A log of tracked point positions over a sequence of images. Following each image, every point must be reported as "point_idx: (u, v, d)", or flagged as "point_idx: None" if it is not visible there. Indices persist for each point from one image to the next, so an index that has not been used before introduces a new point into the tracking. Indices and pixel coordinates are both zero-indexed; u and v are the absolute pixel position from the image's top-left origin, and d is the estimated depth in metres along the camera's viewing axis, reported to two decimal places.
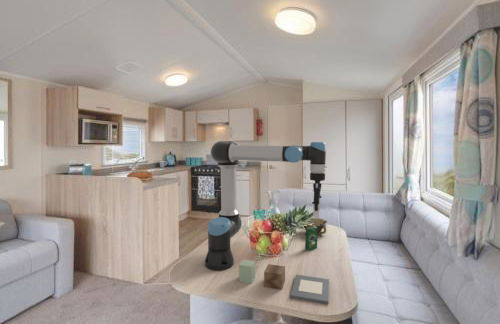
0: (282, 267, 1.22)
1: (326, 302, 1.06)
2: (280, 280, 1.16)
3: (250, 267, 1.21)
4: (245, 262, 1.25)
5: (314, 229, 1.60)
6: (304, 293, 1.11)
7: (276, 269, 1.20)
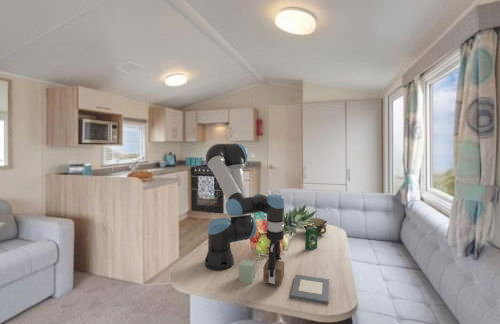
0: (281, 262, 1.22)
1: (326, 302, 1.06)
2: (279, 275, 1.16)
3: (250, 267, 1.21)
4: (245, 262, 1.25)
5: (314, 229, 1.60)
6: (304, 293, 1.11)
7: (275, 264, 1.20)
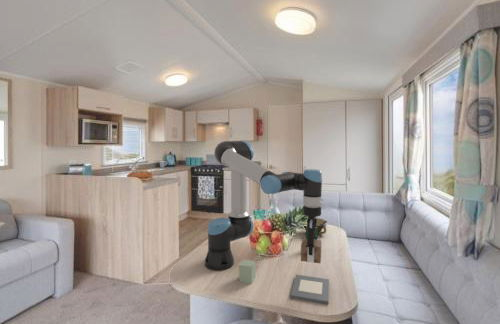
0: (319, 241, 1.16)
1: (326, 302, 1.06)
2: (318, 253, 1.10)
3: (250, 267, 1.21)
4: (245, 262, 1.25)
5: None
6: (304, 293, 1.11)
7: None
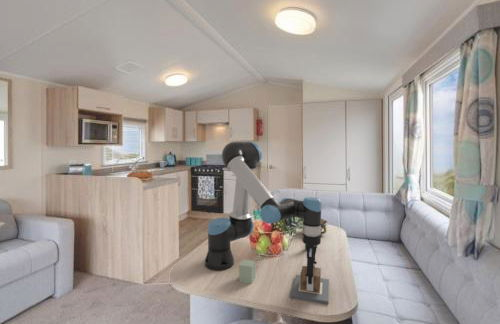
0: (318, 269, 1.17)
1: (326, 302, 1.06)
2: (318, 282, 1.11)
3: (250, 267, 1.21)
4: (245, 262, 1.25)
5: None
6: (304, 293, 1.11)
7: None
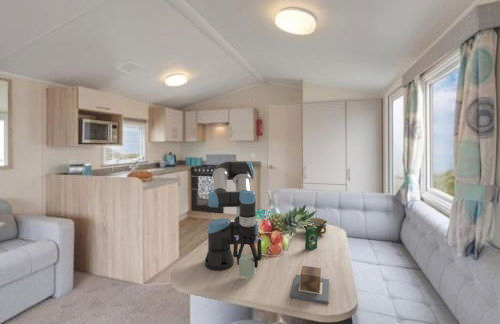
0: (318, 269, 1.17)
1: (326, 302, 1.06)
2: (318, 282, 1.11)
3: (250, 261, 1.21)
4: (245, 256, 1.25)
5: (314, 229, 1.60)
6: (304, 293, 1.11)
7: (312, 271, 1.15)
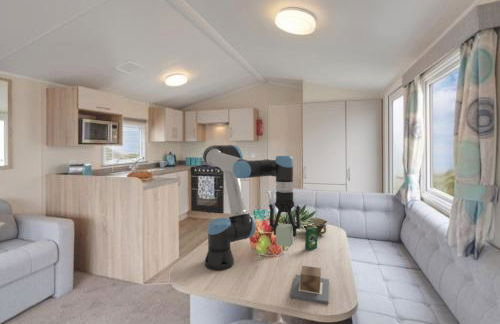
0: (318, 269, 1.17)
1: (326, 302, 1.06)
2: (318, 282, 1.11)
3: (288, 229, 1.14)
4: (282, 225, 1.18)
5: (314, 229, 1.60)
6: (304, 293, 1.11)
7: (312, 271, 1.15)
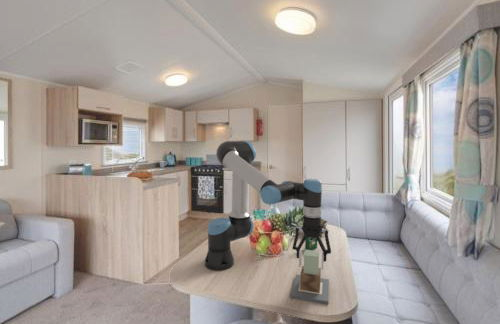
0: None
1: (326, 302, 1.06)
2: (318, 282, 1.11)
3: (316, 257, 1.12)
4: (309, 252, 1.16)
5: None
6: (304, 293, 1.11)
7: None
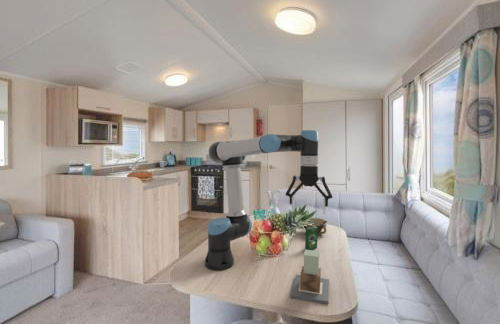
0: None
1: (326, 302, 1.06)
2: (318, 282, 1.11)
3: (316, 257, 1.12)
4: (309, 252, 1.16)
5: (314, 229, 1.60)
6: (304, 293, 1.11)
7: None
